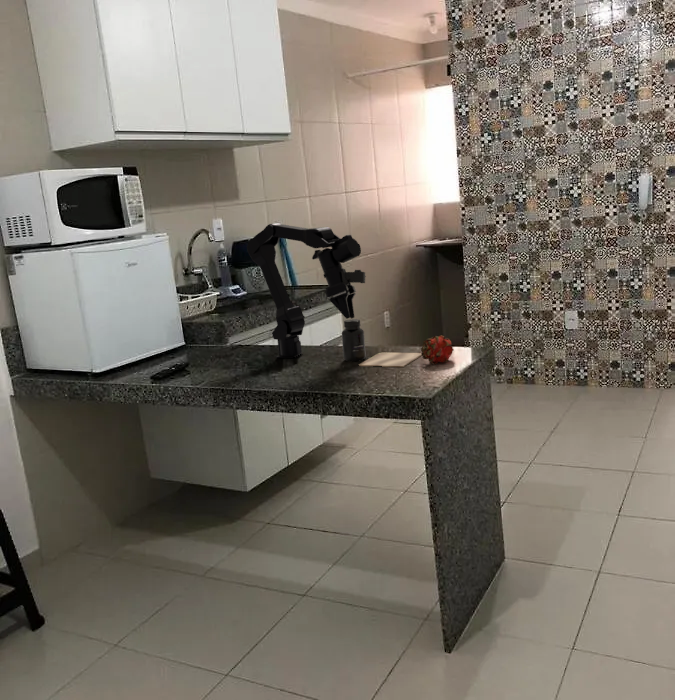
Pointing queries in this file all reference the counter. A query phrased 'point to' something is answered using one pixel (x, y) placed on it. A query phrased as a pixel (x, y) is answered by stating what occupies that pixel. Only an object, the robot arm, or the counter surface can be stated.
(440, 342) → the dragon fruit
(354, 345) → the supplement bottle
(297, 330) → the robot arm
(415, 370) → the counter surface
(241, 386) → the counter surface
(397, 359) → the cork mat
